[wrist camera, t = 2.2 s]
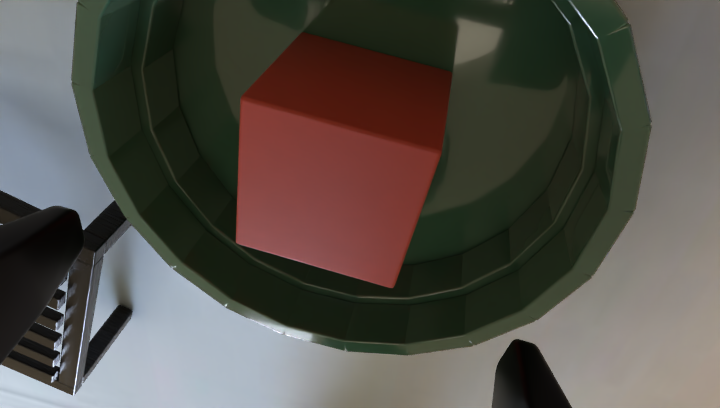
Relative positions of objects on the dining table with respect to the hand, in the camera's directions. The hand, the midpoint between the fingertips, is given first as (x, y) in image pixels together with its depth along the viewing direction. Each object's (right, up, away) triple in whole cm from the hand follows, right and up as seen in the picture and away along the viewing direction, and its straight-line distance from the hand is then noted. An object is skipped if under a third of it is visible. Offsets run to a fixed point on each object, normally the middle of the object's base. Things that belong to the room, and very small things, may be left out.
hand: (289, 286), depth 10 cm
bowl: (+2, +5, +6) cm, 8 cm away
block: (+1, +4, +6) cm, 7 cm away
